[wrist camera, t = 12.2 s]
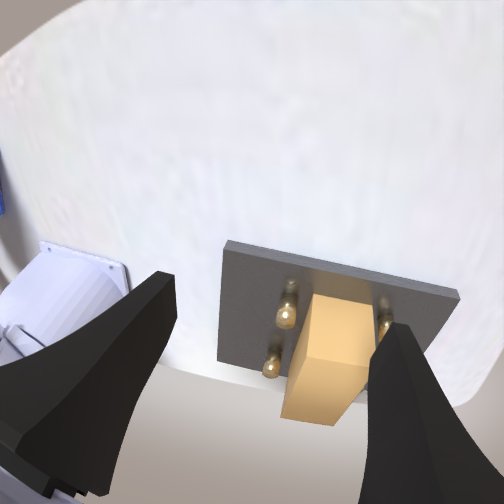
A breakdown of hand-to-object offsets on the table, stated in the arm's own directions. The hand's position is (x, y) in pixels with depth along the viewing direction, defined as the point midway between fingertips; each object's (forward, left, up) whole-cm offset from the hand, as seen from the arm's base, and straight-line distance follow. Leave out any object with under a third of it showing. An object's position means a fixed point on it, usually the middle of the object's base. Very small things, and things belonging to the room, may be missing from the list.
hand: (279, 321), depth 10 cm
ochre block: (+4, -10, -8) cm, 14 cm away
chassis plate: (+4, -10, -9) cm, 14 cm away
